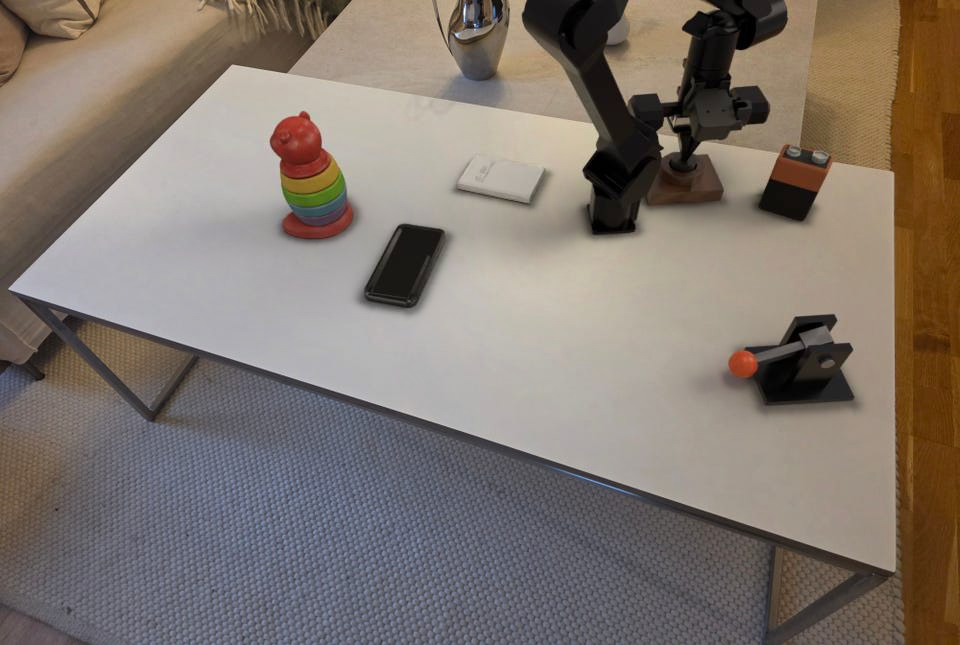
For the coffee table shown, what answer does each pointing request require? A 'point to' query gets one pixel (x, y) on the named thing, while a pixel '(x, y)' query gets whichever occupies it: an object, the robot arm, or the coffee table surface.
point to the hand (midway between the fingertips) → (684, 158)
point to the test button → (683, 163)
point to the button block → (685, 183)
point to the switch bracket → (805, 368)
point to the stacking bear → (310, 180)
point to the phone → (405, 265)
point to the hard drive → (502, 178)
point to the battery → (795, 181)
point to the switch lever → (776, 352)
